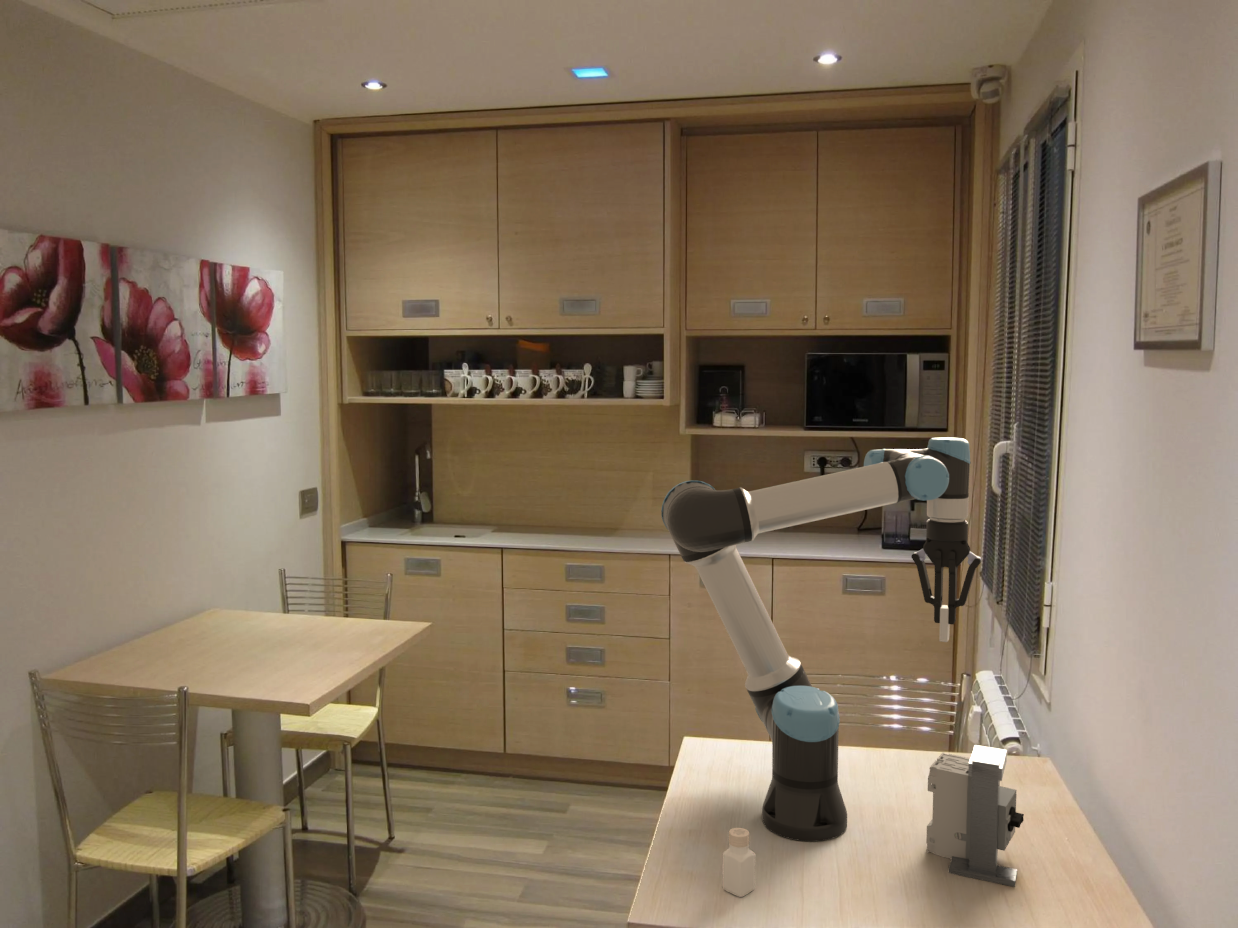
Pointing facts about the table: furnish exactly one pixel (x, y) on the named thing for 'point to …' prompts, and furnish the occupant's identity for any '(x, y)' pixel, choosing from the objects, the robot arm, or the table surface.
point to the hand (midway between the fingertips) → (944, 639)
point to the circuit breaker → (962, 809)
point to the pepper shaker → (739, 864)
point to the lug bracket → (985, 819)
